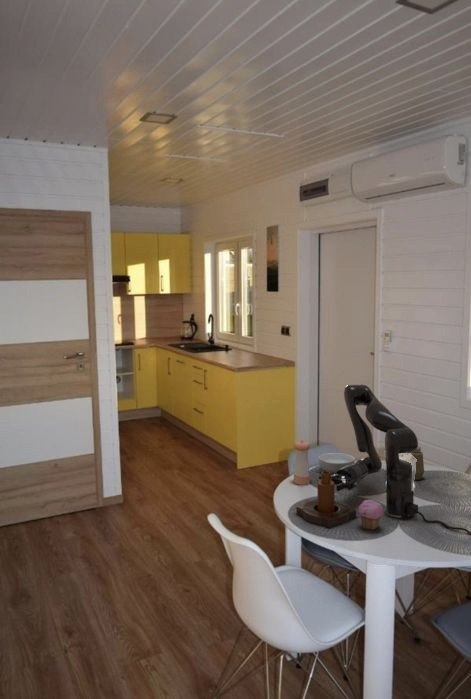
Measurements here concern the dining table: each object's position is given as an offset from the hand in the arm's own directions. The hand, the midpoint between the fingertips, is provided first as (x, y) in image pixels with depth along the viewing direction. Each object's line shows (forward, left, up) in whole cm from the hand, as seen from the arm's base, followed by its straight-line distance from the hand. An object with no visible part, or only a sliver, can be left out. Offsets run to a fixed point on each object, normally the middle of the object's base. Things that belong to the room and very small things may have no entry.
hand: (327, 486), depth 219 cm
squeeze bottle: (+3, -61, -12) cm, 62 cm away
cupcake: (-18, -3, -12) cm, 22 cm away
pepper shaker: (+33, -19, -12) cm, 40 cm away
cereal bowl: (+32, -41, -12) cm, 53 cm away
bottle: (0, +1, -12) cm, 12 cm away
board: (0, +1, -12) cm, 12 cm away
